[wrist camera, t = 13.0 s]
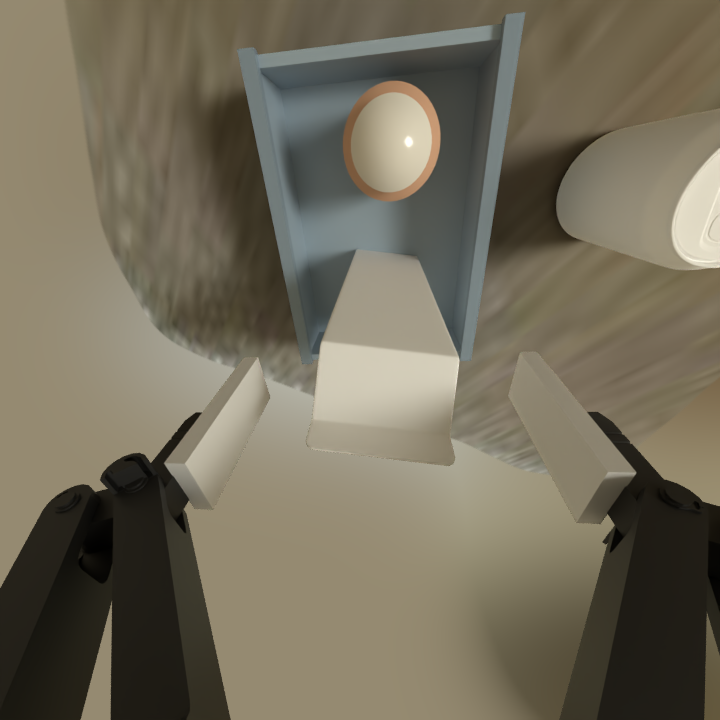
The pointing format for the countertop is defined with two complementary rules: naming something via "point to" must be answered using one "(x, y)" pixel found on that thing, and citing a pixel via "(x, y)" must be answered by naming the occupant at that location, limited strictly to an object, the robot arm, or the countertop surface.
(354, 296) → the milk
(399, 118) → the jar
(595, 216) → the beverage can
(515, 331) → the countertop surface
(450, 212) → the tote
